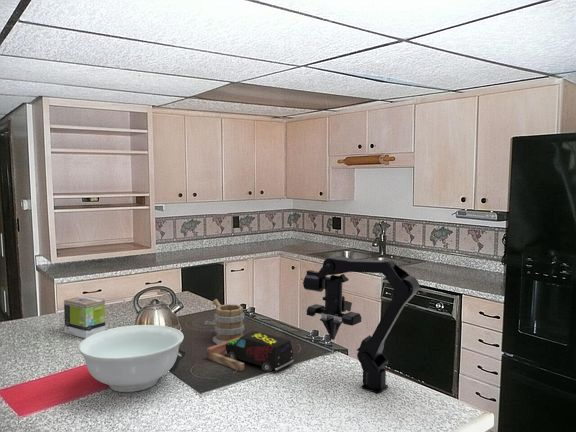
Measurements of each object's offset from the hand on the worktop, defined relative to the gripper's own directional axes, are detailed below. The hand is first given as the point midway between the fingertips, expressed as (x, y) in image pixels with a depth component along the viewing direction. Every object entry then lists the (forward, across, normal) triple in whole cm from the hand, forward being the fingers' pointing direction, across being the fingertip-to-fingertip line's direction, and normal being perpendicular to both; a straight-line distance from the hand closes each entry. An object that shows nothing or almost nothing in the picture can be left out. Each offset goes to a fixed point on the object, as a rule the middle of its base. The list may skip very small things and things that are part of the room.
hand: (332, 339), depth 161 cm
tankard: (+13, +56, -3) cm, 58 cm away
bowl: (+13, +47, +46) cm, 67 cm away
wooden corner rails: (+13, +36, +8) cm, 39 cm away
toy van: (+13, +28, +6) cm, 32 cm away
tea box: (+13, +106, +32) cm, 111 cm away
